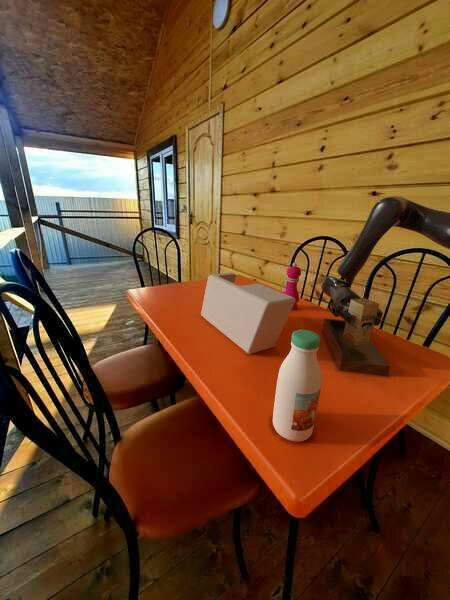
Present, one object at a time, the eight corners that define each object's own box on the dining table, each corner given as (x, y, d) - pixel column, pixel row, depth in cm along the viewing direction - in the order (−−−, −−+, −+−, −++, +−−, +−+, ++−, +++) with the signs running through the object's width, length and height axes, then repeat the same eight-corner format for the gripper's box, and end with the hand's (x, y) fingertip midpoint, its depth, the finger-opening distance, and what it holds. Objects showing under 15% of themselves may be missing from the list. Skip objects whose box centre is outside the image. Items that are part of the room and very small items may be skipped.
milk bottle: (272, 439, 47) (284, 343, 40) (271, 409, 54) (281, 323, 47) (316, 446, 46) (336, 348, 39) (308, 414, 53) (324, 327, 46)
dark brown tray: (358, 334, 89) (361, 321, 87) (387, 376, 66) (392, 359, 65) (322, 331, 90) (324, 318, 89) (339, 370, 68) (342, 354, 66)
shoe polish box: (342, 336, 76) (350, 299, 72) (356, 335, 77) (365, 297, 73) (354, 345, 71) (364, 305, 67) (369, 343, 72) (379, 304, 68)
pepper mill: (280, 309, 110) (285, 263, 104) (282, 303, 117) (286, 260, 110) (297, 311, 108) (303, 265, 102) (298, 305, 115) (304, 262, 108)
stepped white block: (264, 368, 85) (297, 298, 68) (238, 377, 80) (267, 304, 62) (222, 311, 105) (240, 245, 87) (200, 315, 100) (213, 246, 82)
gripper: (326, 288, 85) (338, 306, 69) (372, 292, 83) (395, 311, 67) (322, 309, 87) (333, 331, 72) (367, 313, 85) (388, 336, 70)
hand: (363, 321), depth 70 cm, fingers closed on shoe polish box, 6 cm apart
